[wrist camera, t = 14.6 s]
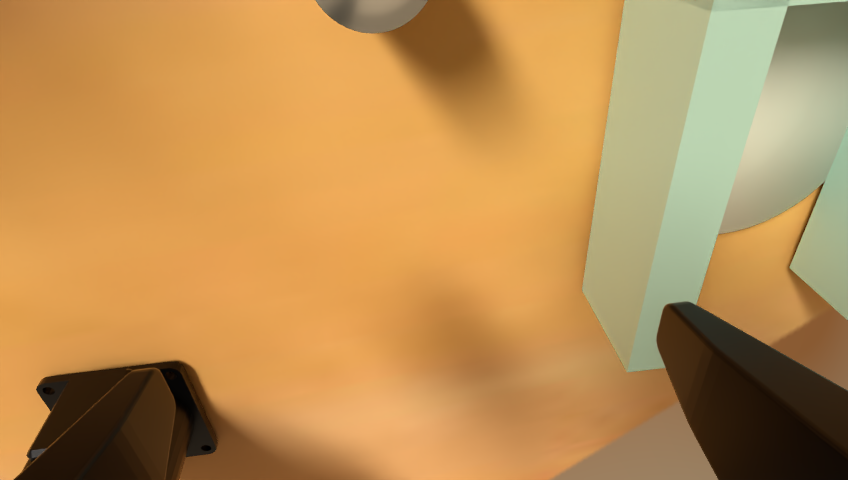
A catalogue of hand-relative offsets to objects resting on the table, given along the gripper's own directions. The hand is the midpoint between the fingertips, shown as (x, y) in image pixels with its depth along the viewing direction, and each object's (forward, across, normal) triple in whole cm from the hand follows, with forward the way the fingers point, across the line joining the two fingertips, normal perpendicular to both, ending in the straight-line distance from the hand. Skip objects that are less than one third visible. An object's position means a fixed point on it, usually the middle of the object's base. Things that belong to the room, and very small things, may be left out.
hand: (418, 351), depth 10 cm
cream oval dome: (+12, -14, +2) cm, 19 cm away
